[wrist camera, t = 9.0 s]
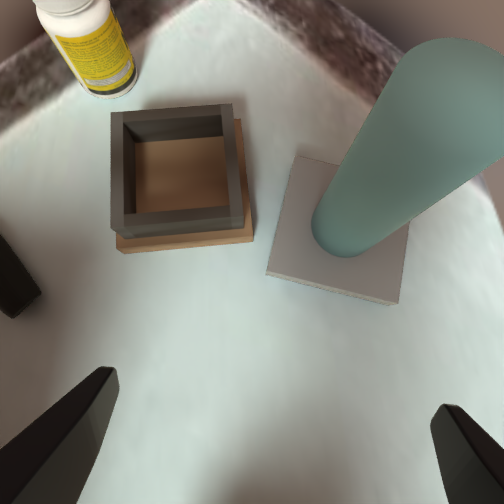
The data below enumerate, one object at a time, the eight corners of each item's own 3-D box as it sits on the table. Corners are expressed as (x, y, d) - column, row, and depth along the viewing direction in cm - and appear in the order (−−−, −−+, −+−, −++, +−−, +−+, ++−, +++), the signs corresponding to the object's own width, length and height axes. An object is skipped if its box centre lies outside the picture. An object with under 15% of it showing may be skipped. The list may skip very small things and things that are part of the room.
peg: (349, 271, 22) (486, 189, 10) (298, 228, 23) (362, 99, 10) (389, 223, 23) (560, 92, 11) (337, 183, 24) (441, 15, 11)
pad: (388, 305, 23) (398, 303, 22) (265, 274, 24) (267, 270, 22) (405, 192, 25) (414, 183, 24) (292, 165, 26) (295, 155, 24)
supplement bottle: (150, 73, 28) (110, -36, 20) (111, 111, 27) (52, 13, 19) (109, 44, 28) (54, -73, 20) (69, 80, 27) (-6, -28, 19)
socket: (252, 241, 24) (254, 224, 20) (124, 253, 24) (100, 238, 20) (240, 130, 26) (239, 95, 23) (123, 139, 26) (101, 105, 22)
